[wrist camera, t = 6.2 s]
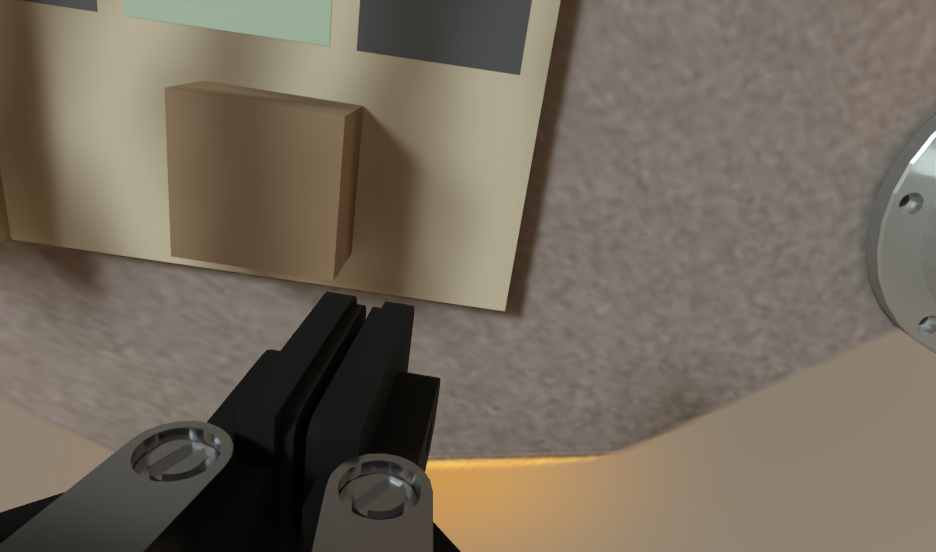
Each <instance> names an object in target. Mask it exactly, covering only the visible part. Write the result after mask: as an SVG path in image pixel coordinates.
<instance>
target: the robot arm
mask: <svg viewBox="0 0 936 552" xmlns="http://www.w3.org/2000/svg"><path fill="white" fill-rule="evenodd" d="M866 263H867V268H868V274H869V279H870V284H871V286H872V289H873V291H874V293H875V295H876V297H877V300H878V302H879V304H880V306H881V307H882V309H883V310H884V311H885V312H886V314H887V315H888V316H889V318H890V319H891V320H892V321H893V323H894V324H895V325H896V326H897V327H899V328H900V329H901V330H902V331H904V332H905V333H906V334H908V335H909V336H910V337H911V338H912V339H914V340H915V341H916V342H918V343H920V344H921V345H923V346H925V347H926V348H928V349H930V350H931V351H933V352H934V353H936V114H935V115H934V116H932V117H931V118H930V120H929V121H928V122H927V123H926V124H925V125H924V126H923V127H922V128H921V129H920V130H919V131H918V133H917V134H916V135H915V136H914V137H913V138H912V139H911V140H910V141H909V142H908V143H907V145H906V146H905V148H904V149H903V151H902V152H901V154H900V155H899V157H898V158H897V160H896V161H895V163H894V164H893V166H892V167H891V169H890V170H889V172H888V173H887V175H886V177H885V180H884V182H883V184H882V186H881V188H880V191H879V193H878V195H877V197H876V199H875V202H874V205H873V209H872V213H871V217H870V221H869V225H868V229H867V242H866ZM365 319H366V320H365ZM413 319H414V306H411V305H405V304H399V303H393V302H387V301H385V303H384V304H383V306H382V308H377V307H373V308H372V309H371V311H370V313H369V315H368V316H367V318H366V306H365V305H359V304H357V298H356V296H350V295H344V294H338V293H332V292H326V293H325V294H324V295H323V297H322V298H321V299H320V300H319V302H318V303H317V304H316V306H315V307H314V308H313V309H312V311H311V312H310V313H309V315H308V316H307V317H306V319H305V320H304V321H303V322H302V324H301V325H300V326H299V328H298V329H297V330H296V332H295V333H294V334H293V335H292V337H291V338H290V339H289V341H288V342H287V343H286V344H285V346H284V347H283V348H282V350H281V351H277V350H267V351H266V352H265V353H263V355H262V356H261V357H260V358H259V359H258V361H257V362H256V363H255V364H254V366H253V367H252V368H251V369H250V370H249V372H248V373H247V374H246V375H245V376H244V378H243V379H242V380H241V381H240V383H239V384H238V385H237V386H236V387H235V389H234V390H233V391H232V392H231V394H230V395H229V396H228V397H227V398H226V400H225V401H224V402H223V403H222V405H221V406H220V407H219V408H218V409H217V411H216V412H215V413H214V414H213V416H212V417H211V418H210V419H209V420H208V422H207V423H204V422H198V421H178V422H173V423H167V424H162V425H159V426H157V427H154V428H151V429H149V430H146V431H144V432H143V433H141V434H139V435H138V436H136V437H135V438H133V439H132V440H130V441H129V442H128V443H126V444H125V445H124V446H123V447H121V448H120V449H119V450H118V451H116V452H115V453H114V454H113V455H111V456H110V457H109V458H108V459H106V460H105V461H104V462H103V463H101V464H100V465H99V466H98V467H96V468H95V469H94V470H93V471H91V472H90V473H89V474H87V475H86V476H85V477H84V478H82V479H81V480H80V481H79V482H77V483H76V484H75V485H74V486H72V487H71V488H70V489H69V490H67V491H66V492H64V493H61V494H58V495H55V496H51V497H48V498H45V499H42V500H39V501H36V502H32V503H29V504H26V505H23V506H20V507H16V508H13V509H10V510H7V511H4V512H1V513H0V552H460V551H459V549H458V548H457V547H456V546H455V545H454V544H453V543H452V542H451V541H450V540H449V539H448V538H447V537H446V536H445V534H444V533H443V532H442V531H441V530H440V529H439V528H438V527H437V526H436V524H435V523H434V522H433V491H432V486H431V483H430V479H429V478H428V477H427V475H426V474H425V469H426V465H427V460H428V456H429V451H430V446H431V440H432V435H433V429H434V423H435V417H436V410H437V403H438V396H439V388H440V378H437V377H431V376H425V375H419V374H413V373H407V371H408V362H409V353H410V345H411V336H412V328H413Z"/></svg>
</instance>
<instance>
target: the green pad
mask: <svg viewBox="0 0 936 552" xmlns="http://www.w3.org/2000/svg"><path fill="white" fill-rule="evenodd" d="M123 2H124V16H130V17H136V18H143V19H150V20H156V21H163V22H170V23H176V24H183V25H190V26H196V27H203V28H210V29H216V30H223V31H230V32H237V33H243V34H250V35H257V36H263V37H270V38H277V39H283V40H290V41H297V42H303V43H310V44H317V45H323V46H330V29H331V9H332V0H123Z"/></svg>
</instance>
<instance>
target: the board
mask: <svg viewBox="0 0 936 552" xmlns="http://www.w3.org/2000/svg"><path fill="white" fill-rule="evenodd" d="M560 1H561V0H332V9H331V29H330V46H323V45H317V44H310V43H303V42H297V41H290V40H283V39H277V38H270V37H263V36H257V35H250V34H243V33H237V32H230V31H223V30H216V29H210V28H203V27H196V26H190V25H183V24H176V23H170V22H163V21H156V20H150V19H143V18H136V17H130V16H124V2H123V0H0V244H2V243H4V242H6V241H9V240H18V241H25V242H32V243H39V244H46V245H53V246H59V247H66V248H73V249H80V250H87V251H94V252H101V253H108V254H114V255H121V256H128V257H135V258H142V259H149V260H156V261H162V262H169V263H176V264H183V265H190V266H197V267H204V268H210V269H217V270H224V271H231V272H238V273H245V274H252V275H259V276H265V277H272V278H279V279H286V280H293V281H300V282H307V283H313V284H320V285H327V286H334V287H341V288H348V289H355V290H362V291H368V292H375V293H382V294H389V295H396V296H403V297H410V298H416V299H423V300H430V301H437V302H444V303H451V304H458V305H465V306H471V307H478V308H485V309H492V310H499V311H505V308H506V302H507V297H508V291H509V286H510V280H511V274H512V269H513V263H514V258H515V252H516V247H517V241H518V235H519V230H520V224H521V219H522V213H523V208H524V202H525V196H526V191H527V185H528V180H529V174H530V169H531V163H532V157H533V152H534V146H535V141H536V135H537V130H538V124H539V118H540V113H541V107H542V102H543V96H544V91H545V85H546V79H547V74H548V68H549V63H550V57H551V52H552V46H553V40H554V35H555V29H556V24H557V18H558V13H559V7H560ZM200 81H210V82H217V83H223V84H229V85H236V86H242V87H248V88H254V89H261V90H267V91H273V92H280V93H286V94H292V95H299V96H305V97H311V98H317V99H324V100H330V101H336V102H343V103H349V104H355V105H361V106H363V118H362V130H361V142H360V154H359V167H358V179H357V191H356V203H355V216H354V228H353V240H352V252H351V255H350V257H349V258H348V260H347V261H346V263H345V264H344V266H343V267H342V269H341V271H340V272H339V274H338V275H337V277H336V278H335V280H334V281H327V280H320V279H314V278H307V277H301V276H294V275H288V274H281V273H275V272H268V271H262V270H255V269H249V268H242V267H236V266H230V265H223V264H217V263H210V262H204V261H197V260H191V259H184V258H178V257H171V246H170V219H169V193H168V167H167V141H166V115H165V87H170V86H176V85H182V84H188V83H194V82H200Z"/></svg>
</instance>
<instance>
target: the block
mask: <svg viewBox="0 0 936 552" xmlns="http://www.w3.org/2000/svg"><path fill="white" fill-rule="evenodd" d="M165 115H166V141H167V167H168V193H169V219H170V246H171V257H178V258H184V259H191V260H197V261H204V262H210V263H217V264H223V265H230V266H236V267H242V268H249V269H255V270H262V271H268V272H275V273H281V274H288V275H294V276H301V277H307V278H314V279H320V280H327V281H334V280H335V278H336V277H337V275H338V274H339V272H340V271H341V269H342V267H343V266H344V264H345V263H346V261H347V260H348V258H349V257H350V255H351V252H352V240H353V228H354V216H355V203H356V191H357V179H358V167H359V154H360V142H361V130H362V118H363V106H361V105H355V104H349V103H343V102H336V101H330V100H324V99H317V98H311V97H305V96H299V95H292V94H286V93H280V92H273V91H267V90H261V89H254V88H248V87H242V86H236V85H229V84H223V83H217V82H210V81H200V82H194V83H188V84H182V85H176V86H170V87H165Z"/></svg>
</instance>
